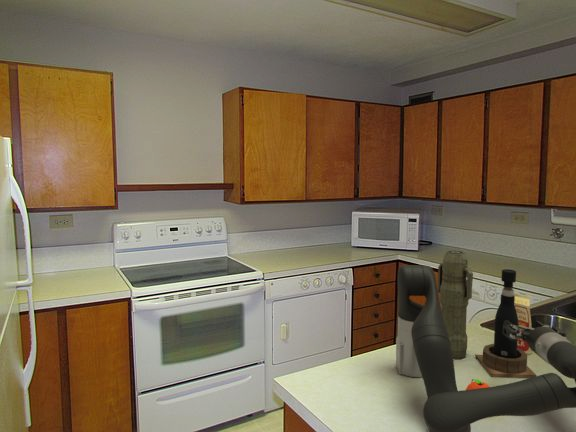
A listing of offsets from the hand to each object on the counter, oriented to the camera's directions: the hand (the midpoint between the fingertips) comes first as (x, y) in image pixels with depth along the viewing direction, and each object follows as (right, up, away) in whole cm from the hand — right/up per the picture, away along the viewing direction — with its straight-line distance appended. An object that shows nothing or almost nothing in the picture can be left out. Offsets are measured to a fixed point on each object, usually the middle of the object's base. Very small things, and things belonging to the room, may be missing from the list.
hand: (521, 323), depth 119 cm
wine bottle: (0, -15, +10) cm, 18 cm away
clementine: (-18, -19, -11) cm, 28 cm away
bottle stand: (+1, -16, +10) cm, 19 cm away
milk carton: (+12, -15, +24) cm, 31 cm away
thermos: (-12, -16, +20) cm, 28 cm away
